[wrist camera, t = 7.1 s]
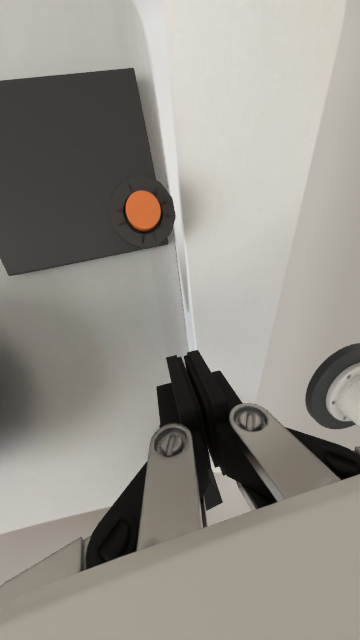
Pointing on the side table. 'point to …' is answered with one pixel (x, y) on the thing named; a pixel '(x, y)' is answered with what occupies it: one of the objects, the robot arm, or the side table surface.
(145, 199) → the button
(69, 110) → the scale
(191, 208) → the side table surface
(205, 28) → the side table surface
